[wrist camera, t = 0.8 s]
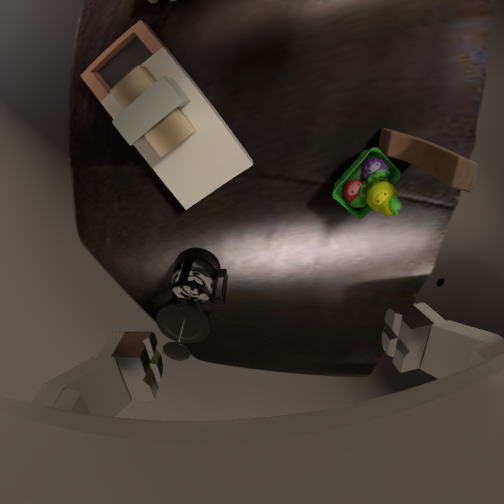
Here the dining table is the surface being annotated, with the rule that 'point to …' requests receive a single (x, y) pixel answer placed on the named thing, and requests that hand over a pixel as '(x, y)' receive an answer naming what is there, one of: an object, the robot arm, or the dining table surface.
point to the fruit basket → (369, 185)
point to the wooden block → (429, 158)
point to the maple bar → (170, 126)
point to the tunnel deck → (195, 149)
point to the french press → (189, 302)
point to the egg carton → (154, 0)
